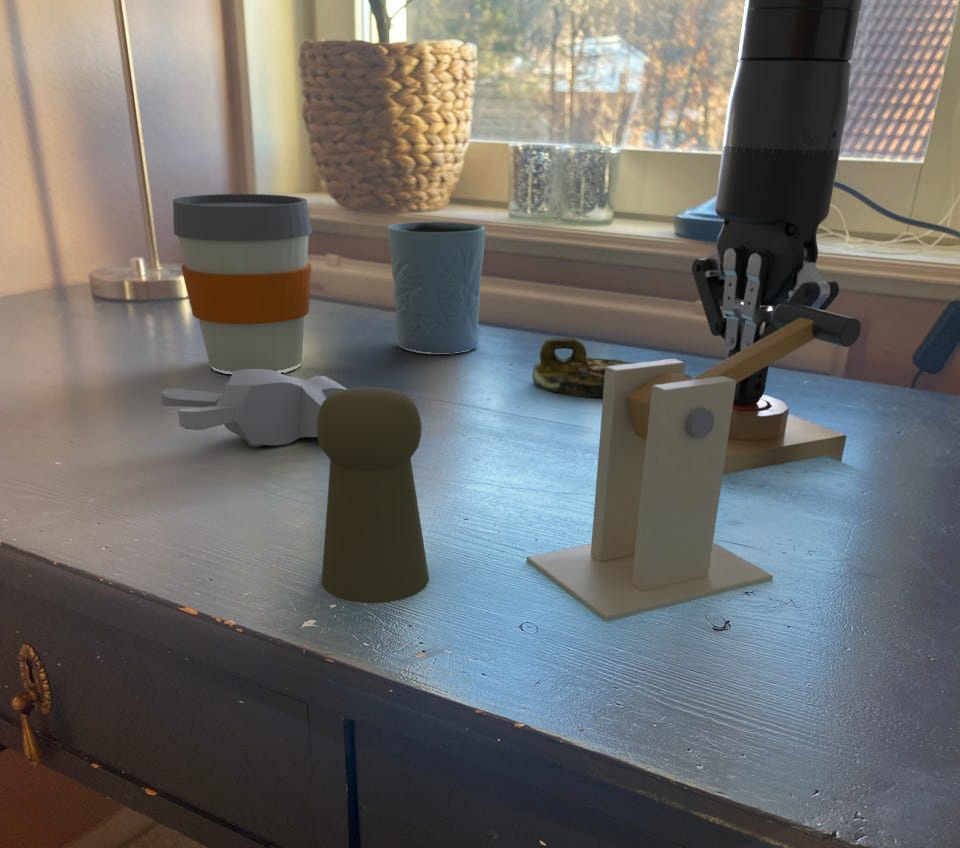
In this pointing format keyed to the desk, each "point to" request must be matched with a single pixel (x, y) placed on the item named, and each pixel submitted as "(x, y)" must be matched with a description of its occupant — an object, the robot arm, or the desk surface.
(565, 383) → the seal
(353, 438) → the cork
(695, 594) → the bracket
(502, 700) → the desk surface
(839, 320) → the lever
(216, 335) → the reusable coffee cup
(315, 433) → the bunny figurine
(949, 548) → the desk surface
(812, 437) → the button block
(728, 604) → the desk surface
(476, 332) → the blue embossed cup
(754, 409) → the button
